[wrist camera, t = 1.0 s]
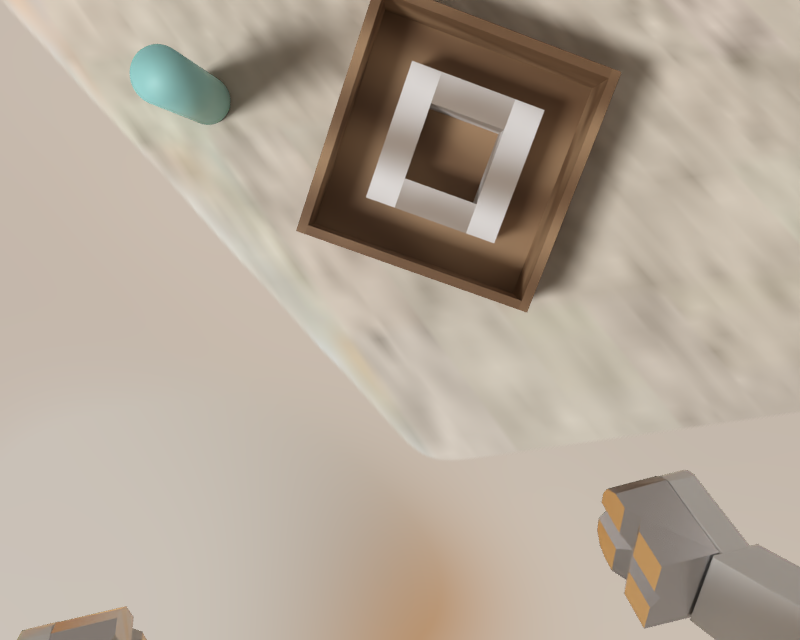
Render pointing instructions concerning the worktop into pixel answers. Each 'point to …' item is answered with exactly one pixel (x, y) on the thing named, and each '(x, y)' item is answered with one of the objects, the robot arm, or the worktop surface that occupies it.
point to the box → (456, 148)
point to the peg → (178, 85)
